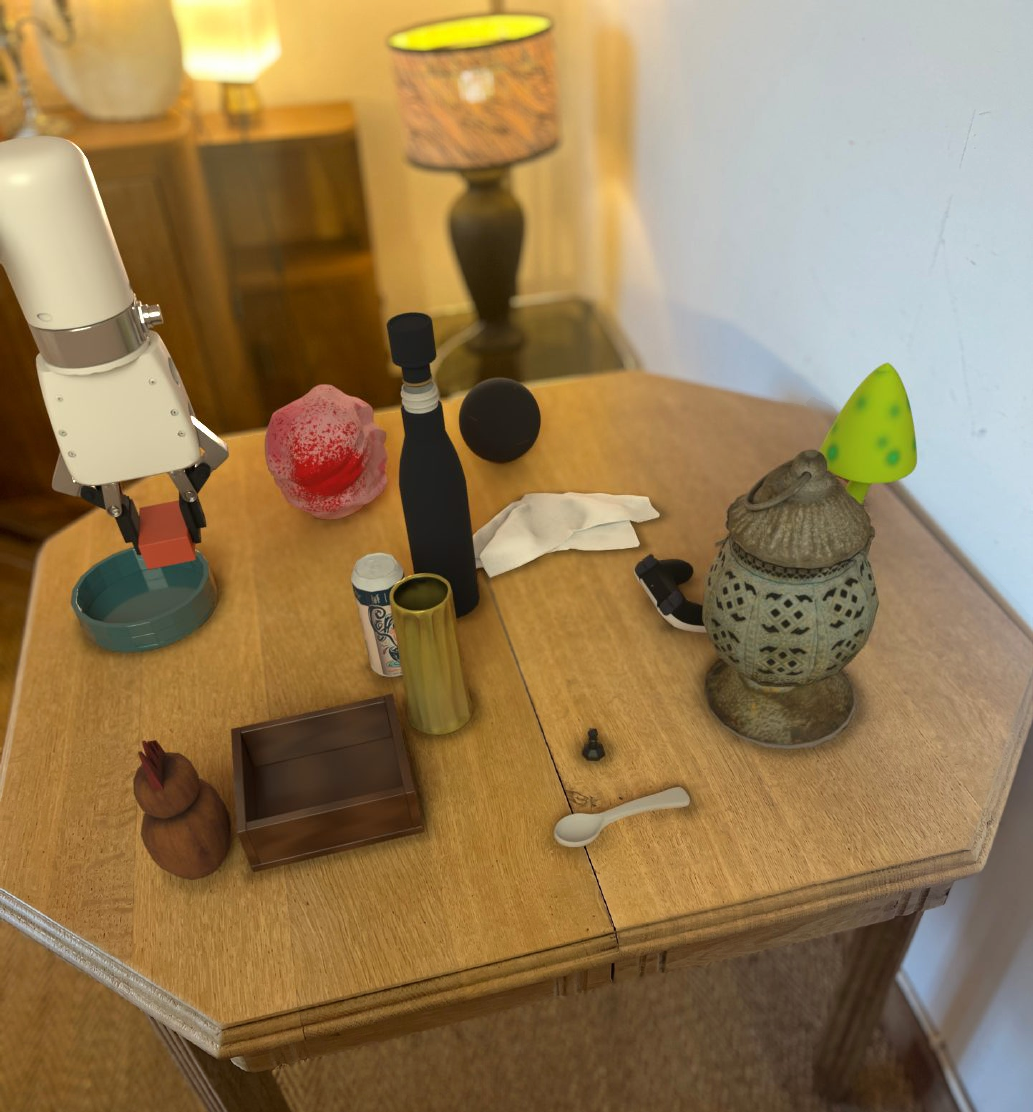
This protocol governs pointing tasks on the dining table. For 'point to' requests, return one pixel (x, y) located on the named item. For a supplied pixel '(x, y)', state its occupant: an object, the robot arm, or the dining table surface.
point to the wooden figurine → (180, 814)
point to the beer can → (378, 609)
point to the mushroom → (873, 434)
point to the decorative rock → (327, 453)
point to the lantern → (789, 607)
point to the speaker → (499, 420)
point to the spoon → (614, 816)
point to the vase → (430, 654)
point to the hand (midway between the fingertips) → (169, 538)
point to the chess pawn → (593, 747)
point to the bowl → (143, 601)
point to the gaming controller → (670, 591)
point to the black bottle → (431, 468)
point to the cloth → (558, 527)
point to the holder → (322, 783)
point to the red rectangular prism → (164, 536)
